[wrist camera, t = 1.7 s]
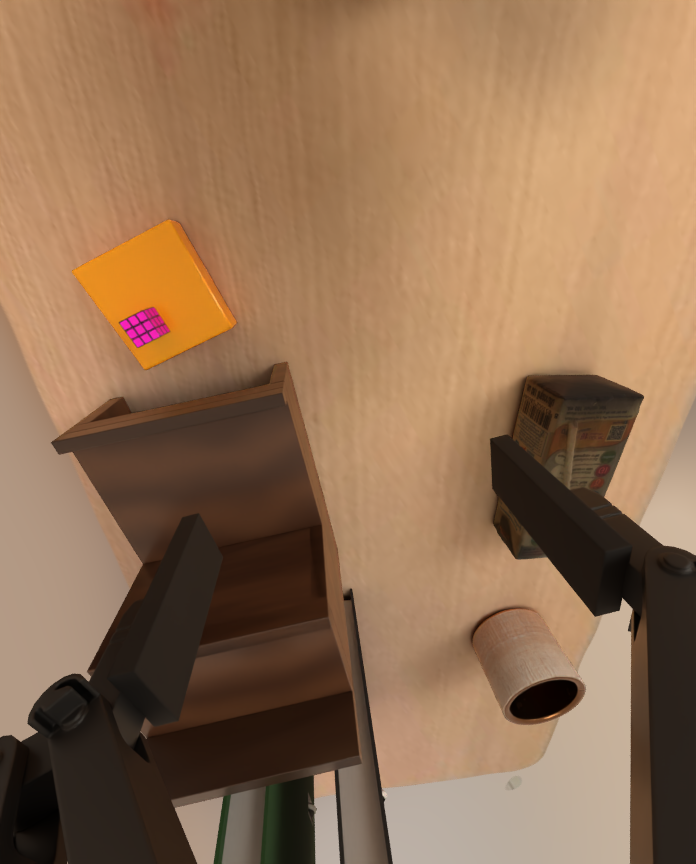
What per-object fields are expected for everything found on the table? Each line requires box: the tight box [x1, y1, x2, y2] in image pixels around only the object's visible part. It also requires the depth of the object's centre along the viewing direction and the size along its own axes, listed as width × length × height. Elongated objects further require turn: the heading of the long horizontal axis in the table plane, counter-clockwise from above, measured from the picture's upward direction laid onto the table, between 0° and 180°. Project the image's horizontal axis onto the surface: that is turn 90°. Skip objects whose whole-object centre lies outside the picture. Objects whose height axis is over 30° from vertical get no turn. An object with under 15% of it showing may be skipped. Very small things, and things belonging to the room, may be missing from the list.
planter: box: [472, 608, 586, 725], centre depth 48 cm, size 11×11×10 cm
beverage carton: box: [493, 375, 644, 559], centre depth 36 cm, size 8×19×7 cm, turn 0°
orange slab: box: [72, 220, 237, 370], centre depth 26 cm, size 8×8×4 cm
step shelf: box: [51, 362, 362, 808], centre depth 28 cm, size 23×16×20 cm
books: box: [214, 589, 393, 864], centre depth 37 cm, size 27×15×32 cm, turn 4°
